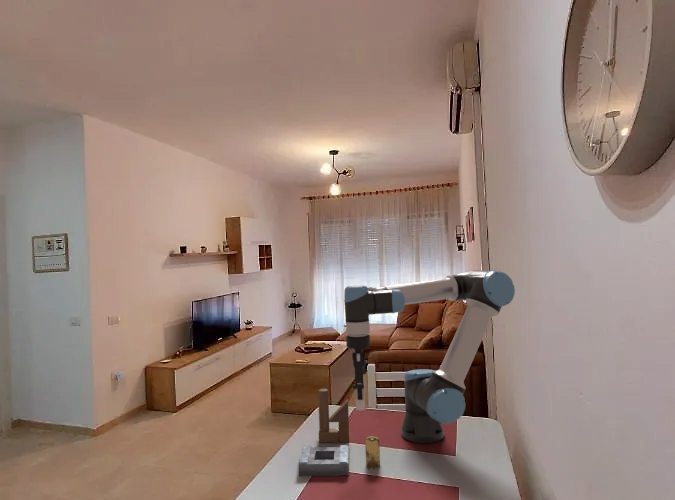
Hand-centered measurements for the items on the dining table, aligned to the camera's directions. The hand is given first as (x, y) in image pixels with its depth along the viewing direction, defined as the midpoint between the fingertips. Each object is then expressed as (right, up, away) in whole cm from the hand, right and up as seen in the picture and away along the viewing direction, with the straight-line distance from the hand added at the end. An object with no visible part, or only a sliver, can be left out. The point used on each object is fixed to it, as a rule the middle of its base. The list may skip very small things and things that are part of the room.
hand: (360, 402), depth 129 cm
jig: (-11, -20, -2) cm, 23 cm away
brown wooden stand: (-9, -20, +17) cm, 28 cm away
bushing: (+4, -19, -2) cm, 20 cm away
